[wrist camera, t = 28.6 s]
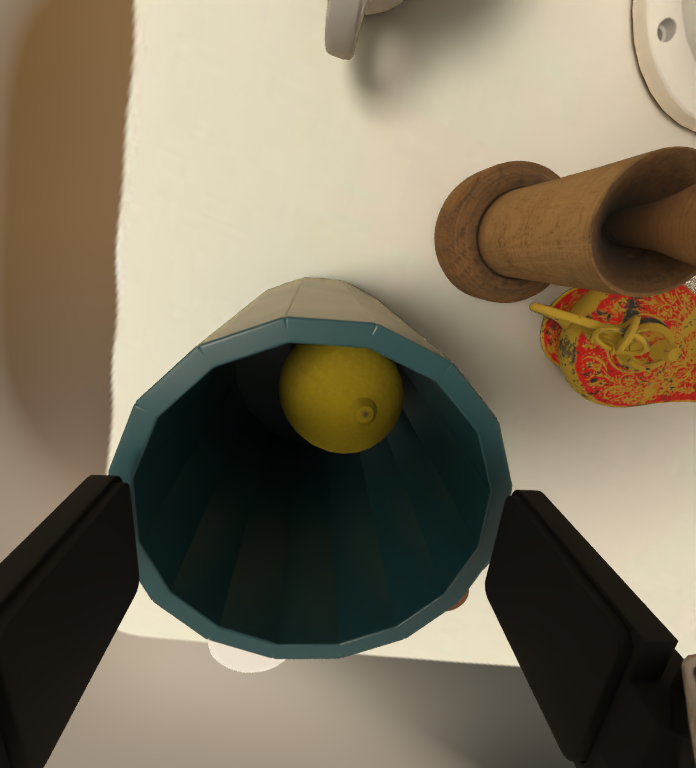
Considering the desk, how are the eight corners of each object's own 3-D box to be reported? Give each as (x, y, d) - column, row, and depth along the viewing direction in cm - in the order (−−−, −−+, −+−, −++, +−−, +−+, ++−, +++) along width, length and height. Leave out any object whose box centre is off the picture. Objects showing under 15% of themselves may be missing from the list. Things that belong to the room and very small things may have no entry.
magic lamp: (695, 425, 26) (945, 540, 16) (446, 347, 23) (553, 426, 13) (757, 326, 24) (1089, 382, 14) (495, 227, 21) (666, 205, 11)
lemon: (385, 353, 23) (458, 387, 16) (335, 433, 23) (383, 504, 16) (305, 301, 21) (344, 311, 14) (252, 389, 22) (261, 446, 14)
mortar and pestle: (411, 264, 22) (762, 317, 5) (474, 143, 20) (1386, -473, 3) (510, 317, 23) (1063, 512, 6) (576, 208, 21) (1604, 47, 4)
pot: (226, 270, 21) (85, 301, 8) (415, 285, 22) (550, 335, 9) (228, 444, 24) (128, 661, 11) (393, 451, 25) (471, 658, 12)
